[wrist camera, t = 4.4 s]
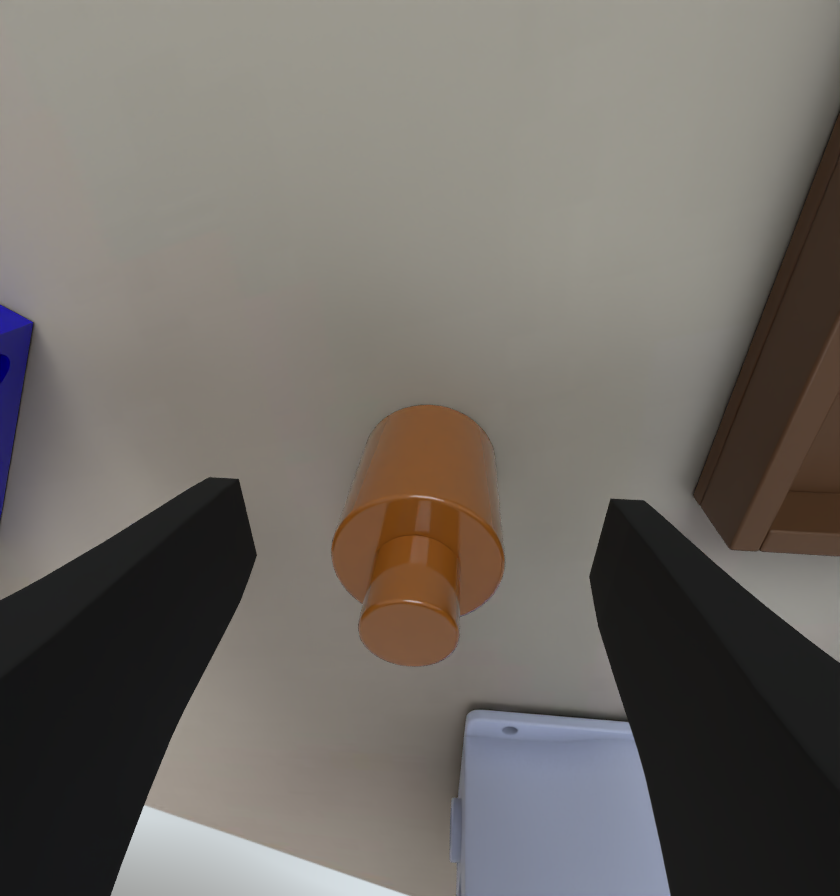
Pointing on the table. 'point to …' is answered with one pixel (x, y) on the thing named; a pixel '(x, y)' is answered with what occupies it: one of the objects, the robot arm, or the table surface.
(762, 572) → the table surface
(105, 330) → the table surface
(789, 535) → the tray
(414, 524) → the amber bottle
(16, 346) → the cable holder
